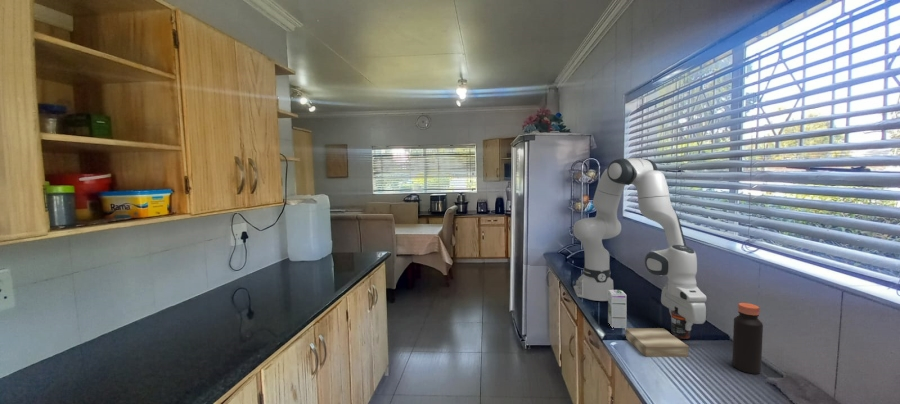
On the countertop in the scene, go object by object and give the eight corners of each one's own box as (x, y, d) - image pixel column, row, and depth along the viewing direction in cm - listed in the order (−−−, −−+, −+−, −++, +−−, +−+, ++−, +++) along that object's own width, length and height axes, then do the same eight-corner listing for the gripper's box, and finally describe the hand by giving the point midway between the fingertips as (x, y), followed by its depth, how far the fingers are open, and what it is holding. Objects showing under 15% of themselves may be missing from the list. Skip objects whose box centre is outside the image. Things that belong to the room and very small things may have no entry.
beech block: (625, 338, 127) (625, 328, 127) (663, 338, 127) (663, 328, 127) (646, 358, 113) (646, 346, 113) (688, 358, 113) (688, 346, 113)
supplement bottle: (687, 333, 130) (688, 304, 129) (692, 340, 124) (693, 310, 123) (669, 331, 132) (669, 303, 131) (673, 338, 126) (674, 308, 125)
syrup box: (627, 330, 133) (627, 294, 132) (610, 329, 134) (611, 293, 133) (622, 324, 138) (623, 289, 138) (607, 323, 140) (607, 289, 139)
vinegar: (730, 360, 110) (732, 300, 109) (757, 366, 107) (760, 303, 106) (734, 370, 104) (736, 307, 103) (763, 376, 101) (766, 311, 100)
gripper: (656, 281, 137) (656, 314, 138) (691, 298, 117) (690, 337, 118) (672, 281, 137) (671, 314, 138) (710, 298, 117) (709, 337, 117)
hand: (680, 325), depth 127 cm, fingers closed on supplement bottle, 6 cm apart
